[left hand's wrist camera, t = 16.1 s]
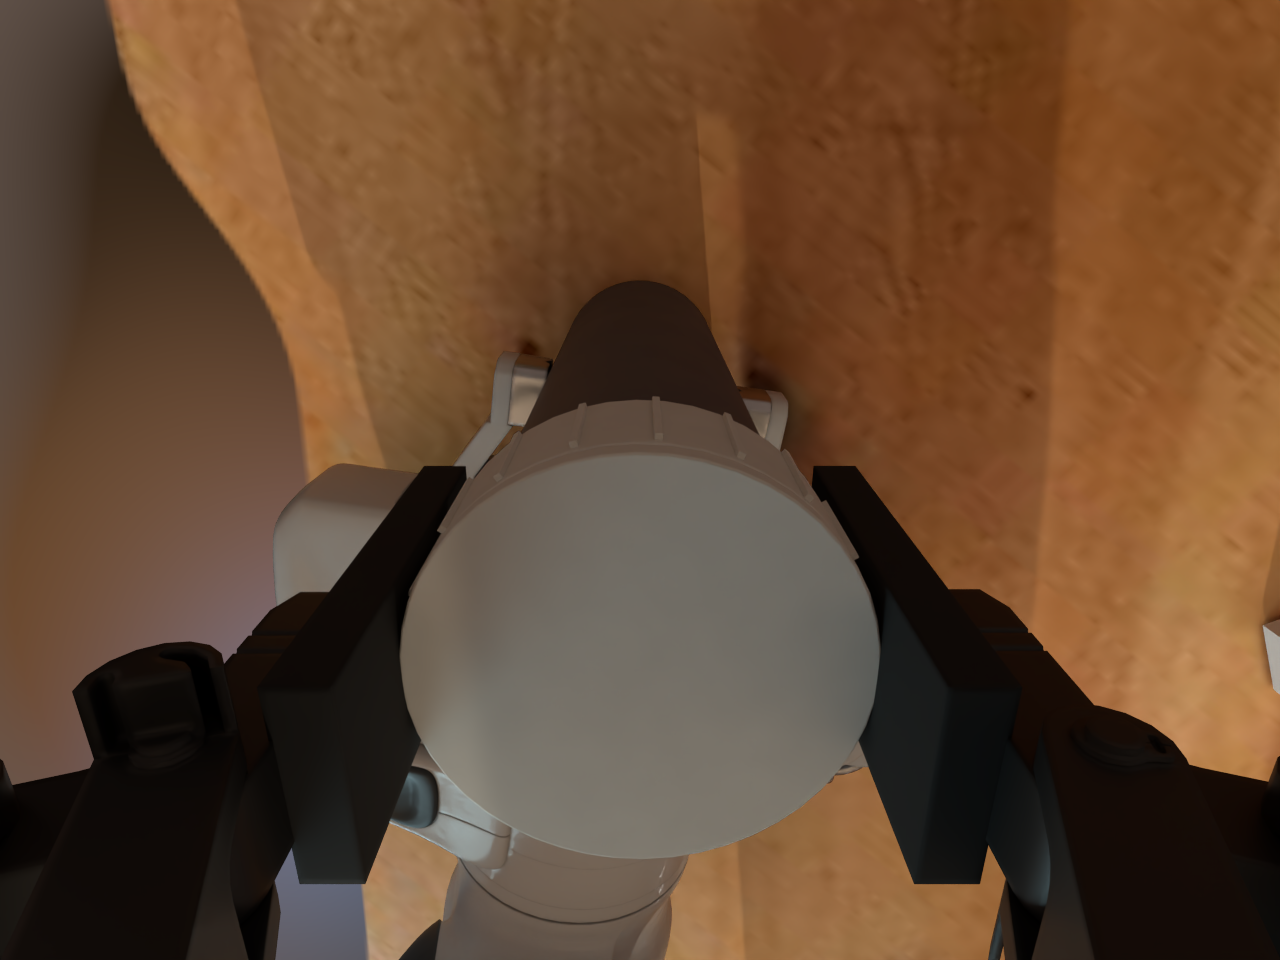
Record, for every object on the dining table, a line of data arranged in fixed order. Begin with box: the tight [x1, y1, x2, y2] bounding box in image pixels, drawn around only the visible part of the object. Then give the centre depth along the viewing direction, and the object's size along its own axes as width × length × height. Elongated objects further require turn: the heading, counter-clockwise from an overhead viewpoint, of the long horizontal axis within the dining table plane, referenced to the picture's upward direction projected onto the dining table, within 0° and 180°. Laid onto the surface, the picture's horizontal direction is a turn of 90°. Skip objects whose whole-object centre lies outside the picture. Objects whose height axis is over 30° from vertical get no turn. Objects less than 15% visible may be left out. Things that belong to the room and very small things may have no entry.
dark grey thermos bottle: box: [521, 281, 759, 435], centre depth 20 cm, size 6×6×20 cm
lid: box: [399, 396, 881, 859], centre depth 11 cm, size 6×6×2 cm
